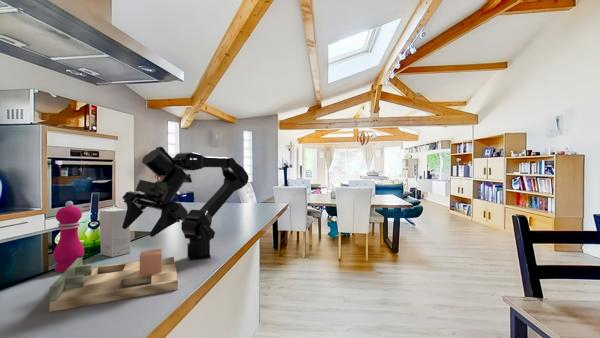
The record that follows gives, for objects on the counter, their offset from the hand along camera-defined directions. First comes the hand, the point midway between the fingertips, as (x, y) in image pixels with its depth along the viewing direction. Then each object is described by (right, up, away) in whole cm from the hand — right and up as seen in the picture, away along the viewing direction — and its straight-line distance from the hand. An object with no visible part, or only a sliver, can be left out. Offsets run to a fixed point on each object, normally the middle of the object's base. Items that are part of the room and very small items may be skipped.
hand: (136, 232), depth 75 cm
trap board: (-2, -12, -3) cm, 13 cm away
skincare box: (-21, -13, +23) cm, 34 cm away
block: (+4, -10, 0) cm, 11 cm away
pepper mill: (-25, -13, +8) cm, 29 cm away
